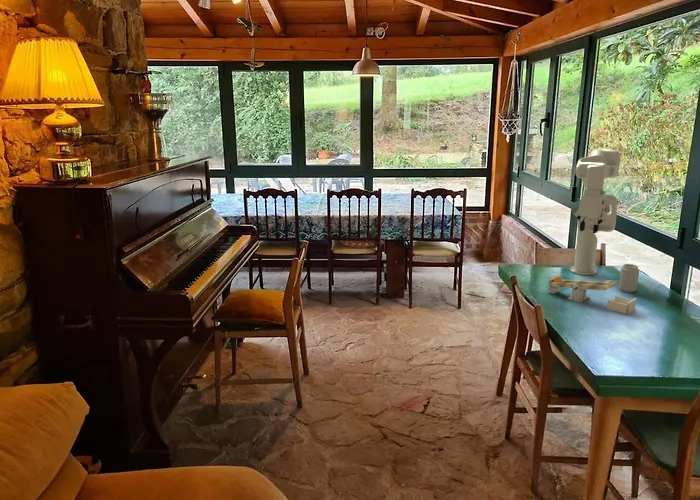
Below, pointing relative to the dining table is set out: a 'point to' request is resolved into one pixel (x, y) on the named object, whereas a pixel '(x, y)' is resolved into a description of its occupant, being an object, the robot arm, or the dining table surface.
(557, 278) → the ball
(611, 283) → the lever
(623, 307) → the dish
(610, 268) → the dining table surface
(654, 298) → the dining table surface
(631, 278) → the can
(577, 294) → the fulcrum
